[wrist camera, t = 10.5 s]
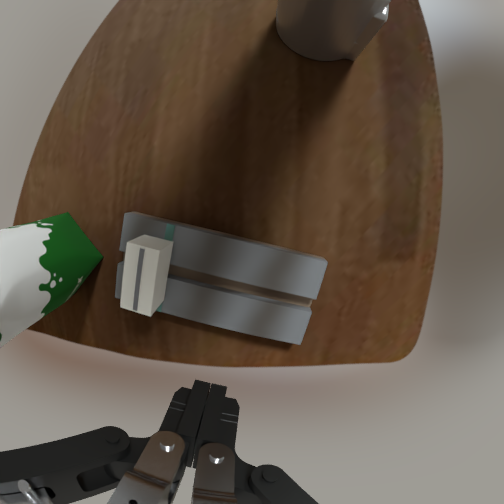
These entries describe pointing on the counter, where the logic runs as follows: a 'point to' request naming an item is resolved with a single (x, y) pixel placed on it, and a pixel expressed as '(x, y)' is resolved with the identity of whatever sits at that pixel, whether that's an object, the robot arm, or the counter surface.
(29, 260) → the milk carton
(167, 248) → the slider knob
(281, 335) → the slider panel
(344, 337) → the counter surface
